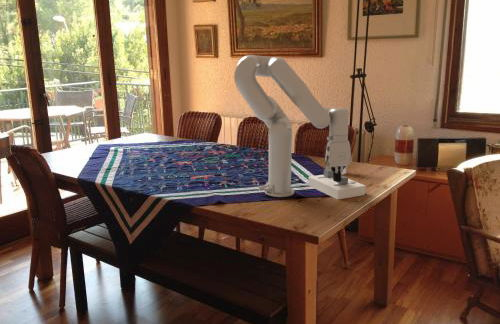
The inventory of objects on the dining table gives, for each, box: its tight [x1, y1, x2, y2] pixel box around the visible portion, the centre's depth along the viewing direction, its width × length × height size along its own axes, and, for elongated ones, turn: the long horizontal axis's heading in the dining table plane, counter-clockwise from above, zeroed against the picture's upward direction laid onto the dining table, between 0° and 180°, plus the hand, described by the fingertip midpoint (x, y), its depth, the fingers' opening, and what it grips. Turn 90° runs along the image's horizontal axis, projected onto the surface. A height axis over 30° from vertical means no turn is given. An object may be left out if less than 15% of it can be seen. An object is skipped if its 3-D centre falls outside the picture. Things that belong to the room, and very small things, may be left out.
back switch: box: [323, 168, 333, 177], centre depth 204 cm, size 3×3×3 cm
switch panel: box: [307, 174, 367, 200], centre depth 198 cm, size 14×22×4 cm, turn 26°
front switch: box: [337, 175, 349, 185], centre depth 193 cm, size 3×3×3 cm
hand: (336, 181), depth 191 cm, fingers closed
